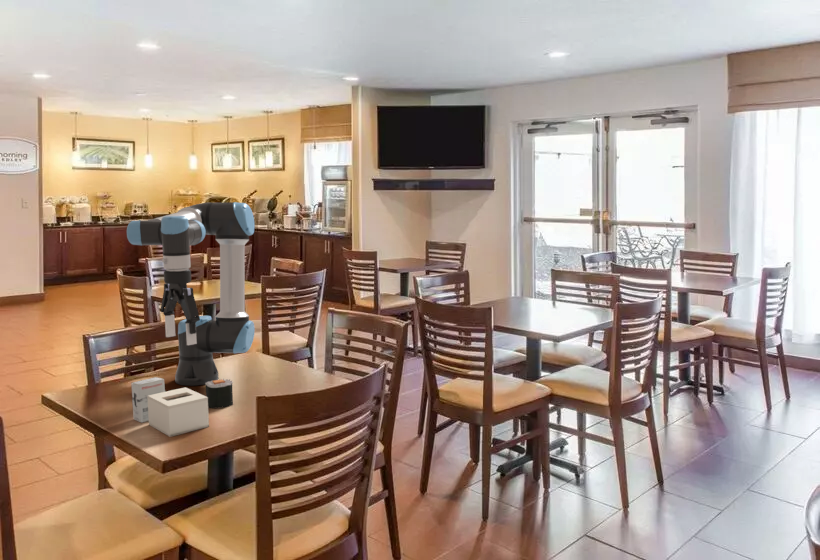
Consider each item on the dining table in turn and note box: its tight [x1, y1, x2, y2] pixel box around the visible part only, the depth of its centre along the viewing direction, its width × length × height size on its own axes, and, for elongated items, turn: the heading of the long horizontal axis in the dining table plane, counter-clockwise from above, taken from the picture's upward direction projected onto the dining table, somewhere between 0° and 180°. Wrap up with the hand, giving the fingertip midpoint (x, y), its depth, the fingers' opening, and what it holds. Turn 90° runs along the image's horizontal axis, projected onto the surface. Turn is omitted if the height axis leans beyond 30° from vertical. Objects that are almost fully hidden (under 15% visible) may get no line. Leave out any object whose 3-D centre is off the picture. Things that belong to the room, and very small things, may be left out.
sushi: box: [204, 378, 234, 409], centre depth 225 cm, size 8×8×8 cm
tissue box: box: [147, 387, 210, 438], centre depth 204 cm, size 14×12×9 cm
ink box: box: [131, 376, 166, 424], centre depth 211 cm, size 8×5×12 cm, turn 140°
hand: (181, 340), depth 205 cm, fingers open, 13 cm apart
